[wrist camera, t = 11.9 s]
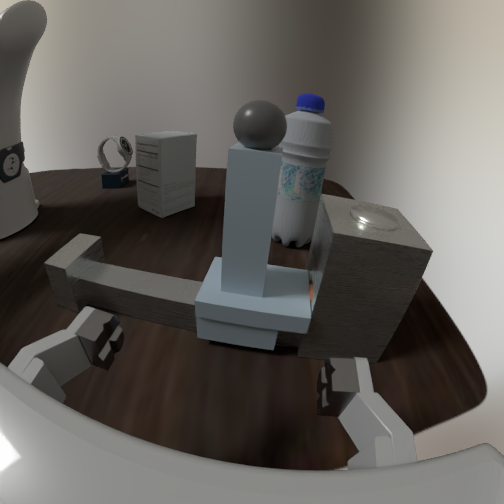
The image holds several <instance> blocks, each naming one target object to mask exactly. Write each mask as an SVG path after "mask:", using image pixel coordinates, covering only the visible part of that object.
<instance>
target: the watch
mask: <svg viewBox="0 0 504 504" xmlns="http://www.w3.org/2000/svg"><path fill="white" fill-rule="evenodd" d="M111 138H112V139H113V140H114V142H115V145H116V148H117V150H118V152H119V153H120V154H121V156H123V157H124V160H125V161H126V163H125V165H124V167H122V168H111V167H110V166H109V163H108V162H107V160H106V157H105V154H104V153H103V146H104V144H105V143H106V141H107V140H109V139H111ZM132 153H133V151H132V147H131V145H130V143H129V142H128V141H127V139H126V138H124V137H120V136H112V137H109V138H106V139H105V140H103V141H102V142H101V144H100V145H99V147H98V159H99V162H100V164H101V165H102V167H103V168H104V170H107V172H105V173H104V174H102V186H103V188H121V187H122V186H123V185H124V184H126V183H127V182H128V181H129V178H128V168H125V167H127V166H128V164H129V163H130V160H131V157H132Z"/></svg>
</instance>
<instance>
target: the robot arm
mask: <svg viewBox="0 0 504 504" xmlns="http://www.w3.org/2000/svg"><path fill="white" fill-rule="evenodd" d="M46 17H47V16H46V12H45V10H44V8H43V7H42V6H41V5H40V4H39V3H37V2H35V1H30V0H27V1H21V2H18V3H16V4H14V5H12V6H11V7H9V8H7V9H6V10H4V11H3V12H2V13H0V239H2V238H5V237H7V236H9V235H12V234H14V233H16V232H18V231H19V230H21V229H23V228H24V227H26V226H27V225H29V224H30V223H31V222H32V221H33V220H34V219H35V218H36V217H37V215H38V210H37V208H38V207H39V205H40V204H39V201H38V200H35V197H34V192H33V188H32V184H31V180H30V175H29V171H28V169H27V168H26V167H25V166H24V164H23V161H24V159H25V157H24V147H23V142H21V133H20V106H21V96H22V90H23V86H24V81H25V78H26V74H27V70H28V67H29V63H30V60H31V57H32V54H33V51H34V49H35V47H36V45H37V43H38V41H39V40H40V38H41V37H42V35H43V33H44V31H45V28H46V24H47V18H46ZM119 324H120V320H119V317H118V316H116V315H113V314H110V313H107V312H104V311H101V310H98V309H95V308H92V307H89V306H87V307H84V309H83V310H82V311H81V312H80V313H79V315H78V316H77V317H76V318H75V319H74V321H73V322H72V323H71V324H70V326H69V327H68V328H67V329H66V330H61V331H59V332H57V333H54V334H52V335H50V336H48V337H45V338H43V339H41V340H39V341H37V342H34V343H32V344H30V345H28V346H25V347H23V348H22V349H21V350H20V352H19V353H18V354H17V356H16V357H15V358H14V359H13V361H12V362H11V363H10V365H9V366H8V368H7V367H6V366H4V365H3V364H2V363H0V504H504V456H503V455H502V454H501V453H500V452H499V451H498V450H497V449H496V448H494V447H493V446H492V445H490V444H488V443H483V444H479V445H477V446H474V447H471V448H468V449H465V450H462V451H458V452H455V453H452V454H448V455H444V456H440V457H436V458H431V459H427V460H423V461H417V456H416V449H415V443H414V437H413V432H412V431H411V430H410V429H409V428H408V426H407V425H406V424H405V423H404V422H403V421H402V420H401V419H400V418H399V416H398V415H397V414H396V413H395V412H394V411H393V410H392V409H391V408H390V406H389V405H388V404H387V403H386V402H385V401H384V400H383V399H382V397H381V396H380V395H379V394H378V393H374V390H373V385H372V379H371V374H370V369H369V364H368V360H367V358H359V357H346V356H331V355H328V356H327V357H326V360H325V367H323V368H321V370H320V373H319V376H318V380H317V392H318V393H319V394H320V397H319V398H318V400H317V415H320V416H335V417H338V418H339V420H340V421H341V423H342V425H343V426H344V428H345V429H346V431H347V432H348V434H349V436H350V437H351V439H352V440H353V442H354V443H355V445H356V447H357V448H358V450H359V451H360V452H358V453H357V454H356V455H355V456H353V457H352V458H351V459H350V460H349V461H348V470H333V471H311V470H288V469H275V468H265V467H256V466H249V465H242V464H235V463H230V462H224V461H219V460H214V459H209V458H205V457H200V456H196V455H192V454H188V453H184V452H180V451H177V450H173V449H170V448H166V447H163V446H160V445H157V444H154V443H151V442H148V441H145V440H142V439H139V438H136V437H134V436H131V435H129V434H126V433H123V432H121V431H118V430H116V429H114V428H111V427H109V426H107V425H104V424H102V423H100V422H98V421H96V420H93V419H91V418H89V417H87V416H85V415H83V414H81V413H79V412H77V411H75V410H73V409H71V408H70V407H68V406H66V405H64V404H63V402H64V400H65V398H66V394H65V393H64V391H63V390H62V389H61V387H60V386H62V385H63V384H65V383H66V382H68V381H69V380H71V379H72V378H74V377H75V376H77V375H78V374H80V373H81V372H83V371H84V370H86V369H87V368H89V367H90V366H91V365H94V366H96V367H99V368H102V369H105V370H107V371H108V370H109V368H110V366H111V364H112V363H113V361H114V359H115V358H114V354H115V353H117V352H119V351H120V349H121V347H122V345H123V341H124V334H123V330H122V329H121V328H120V327H119V326H118V325H119Z"/></svg>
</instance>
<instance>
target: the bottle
mask: <svg viewBox="0 0 504 504" xmlns="http://www.w3.org/2000/svg"><path fill="white" fill-rule="evenodd" d="M324 106H325V103H324V100H323V98H321V97H319V96H317V95H314V94H302V95H300V96H299V97H298V99H297V106H296V108H297V109H300V110H299V111H297V112H294V113H291V114H289V115H286V116H285V117H286V121H287V131H286V134H285V137H284V139H283V140H282V141H281V142H280V144H279V147H283V152H282V160H281V168H280V176H279V183H278V191H277V198H276V206H275V213H274V220H273V228H272V238H273V240H275V241H276V242H279V241H280V238H281V239H282V243H283V245H284V246H289V243H290V242H291V241H296V243H295V246H296V247H302V246H303V245H304V244H308V243H309V242H310V241H311V240H312V237H313V233H314V228H315V223H316V218H317V213H318V206H319V200H320V195H321V190H322V184H323V179H324V173H325V167H326V162H327V161H328V160H329V158H330V152H331V149H332V123H331V122H329V121H328V120H327V119H326V118H324V117H323V116H322V115H321V114H319V113H323V112H324Z"/></svg>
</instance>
